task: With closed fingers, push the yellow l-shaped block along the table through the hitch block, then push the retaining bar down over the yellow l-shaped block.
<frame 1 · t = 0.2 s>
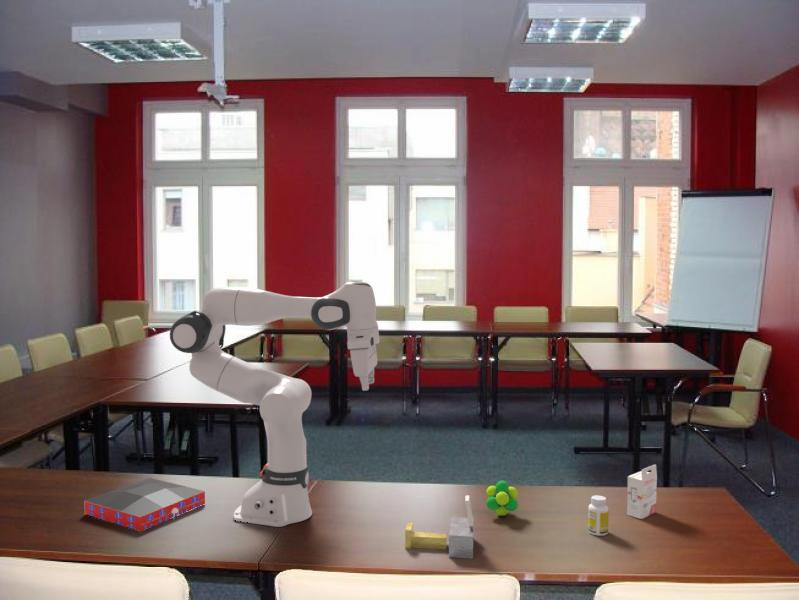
hand: (368, 386, 201), 39 cm above the table, tool pointing down, fingers open, 8 cm apart
ink cartridge box: (641, 514, 210), on the table
hitch block: (461, 547, 185), on the table
building model: (147, 512, 210), on the table
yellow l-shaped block: (406, 544, 187), on the table
supplement bottle: (597, 533, 196), on the table
retaining bar: (469, 512, 184), point 10 cm above the table, hinge at -10.0°
molecule model: (501, 516, 208), on the table
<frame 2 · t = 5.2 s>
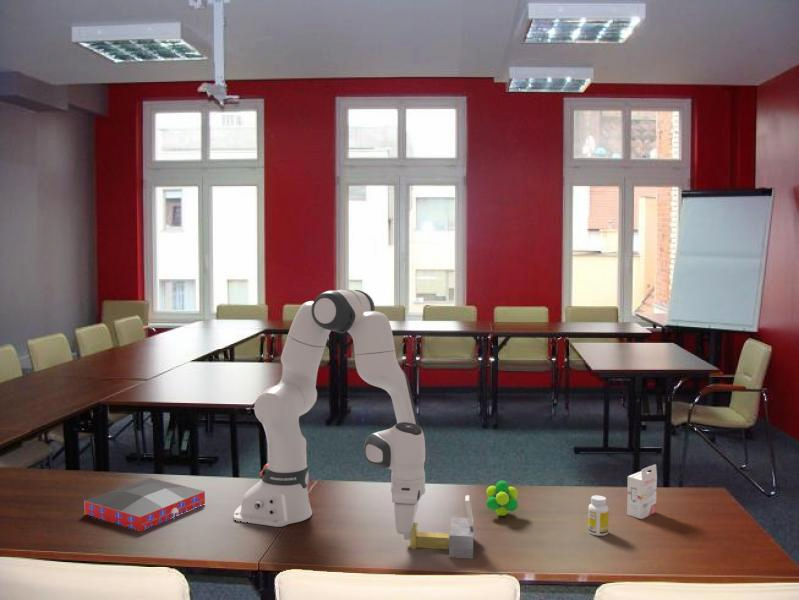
hand: (407, 537, 186), 2 cm above the table, tool pointing down, fingers closed, pressing on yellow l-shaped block
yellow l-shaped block: (411, 544, 187), on the table, touching gripper
everything else where it was.
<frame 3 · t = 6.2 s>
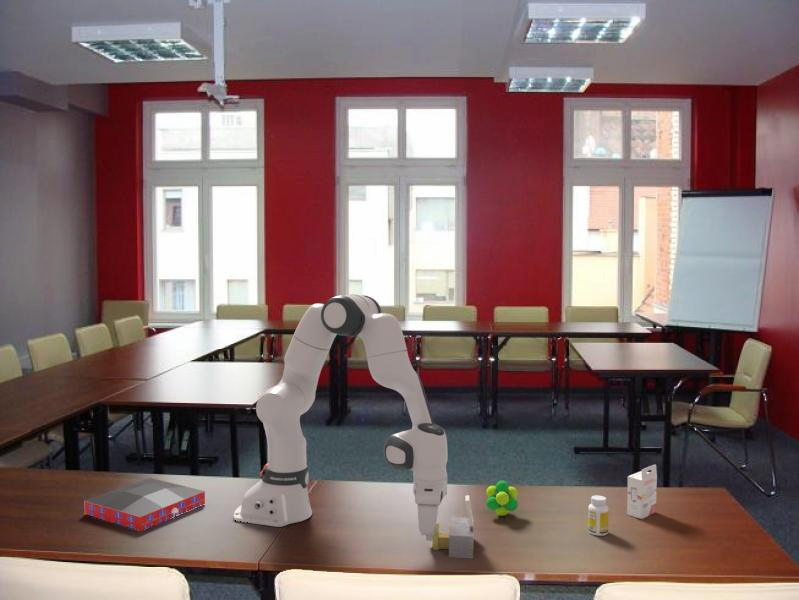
hand: (429, 538, 186), 2 cm above the table, tool pointing down, fingers closed, pressing on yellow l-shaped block
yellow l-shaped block: (433, 545, 186), on the table, touching gripper
everything else where it was.
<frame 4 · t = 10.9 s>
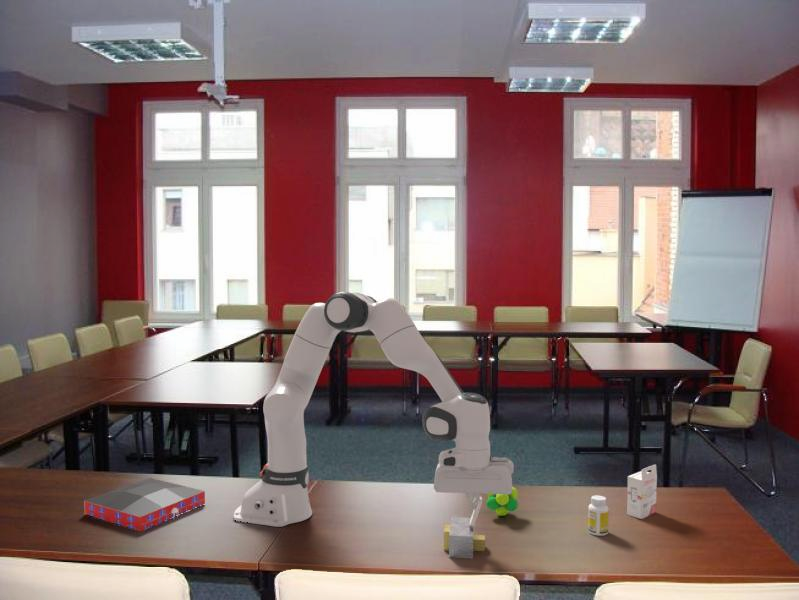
hand: (473, 509, 184), 10 cm above the table, tool pointing down, fingers closed, pressing on retaining bar
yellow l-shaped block: (444, 546, 186), on the table
retaining bar: (475, 512, 184), point 9 cm above the table, hinge at 17.7°, touching gripper
everything else where it was.
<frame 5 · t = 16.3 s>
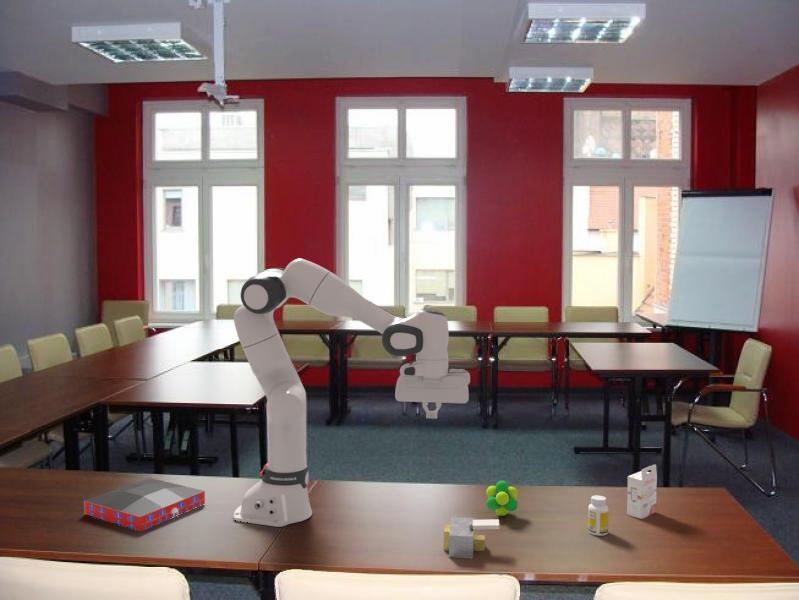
hand: (431, 417, 196), 31 cm above the table, tool pointing down, fingers closed
retaining bar: (484, 524, 184), point 7 cm above the table, hinge at 86.2°
everything else where it was.
at the end: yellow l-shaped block 0.5 cm from the target spot, on the table; retaining bar at +86° (first picture: -10°) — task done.
